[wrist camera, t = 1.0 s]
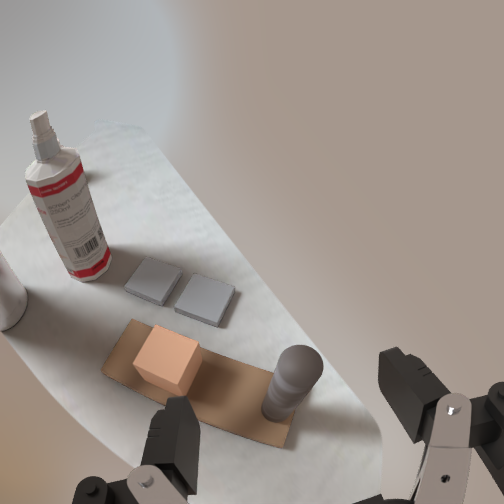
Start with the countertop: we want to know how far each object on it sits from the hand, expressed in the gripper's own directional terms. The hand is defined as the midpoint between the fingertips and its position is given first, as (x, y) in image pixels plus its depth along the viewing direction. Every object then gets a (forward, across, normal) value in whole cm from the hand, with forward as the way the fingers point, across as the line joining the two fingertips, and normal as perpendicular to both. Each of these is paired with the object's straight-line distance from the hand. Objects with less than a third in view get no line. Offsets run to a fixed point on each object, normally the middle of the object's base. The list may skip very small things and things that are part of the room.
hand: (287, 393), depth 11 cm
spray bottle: (+34, +25, 0) cm, 42 cm away
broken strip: (+30, +10, +6) cm, 32 cm away
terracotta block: (+18, +11, +11) cm, 24 cm away
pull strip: (+18, +9, +13) cm, 24 cm away
